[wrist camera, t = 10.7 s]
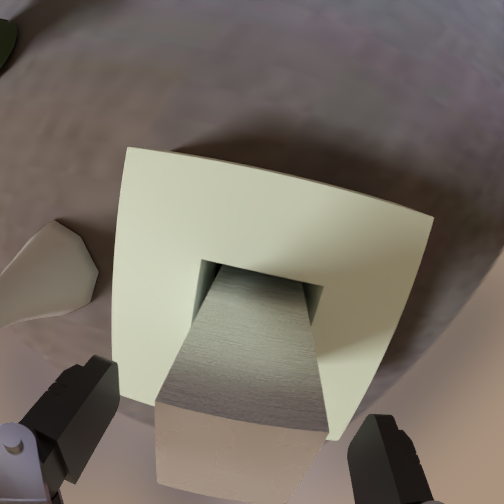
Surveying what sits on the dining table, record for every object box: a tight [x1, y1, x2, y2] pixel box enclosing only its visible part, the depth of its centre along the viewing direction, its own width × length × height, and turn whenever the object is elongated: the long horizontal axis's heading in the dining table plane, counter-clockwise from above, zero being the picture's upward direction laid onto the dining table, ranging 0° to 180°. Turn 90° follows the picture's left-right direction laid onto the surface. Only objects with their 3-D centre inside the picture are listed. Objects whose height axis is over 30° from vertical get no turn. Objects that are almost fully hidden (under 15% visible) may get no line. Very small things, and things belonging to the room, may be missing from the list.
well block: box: [112, 147, 434, 440], centre depth 17 cm, size 14×14×6 cm
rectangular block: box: [155, 264, 329, 504], centre depth 13 cm, size 4×4×14 cm
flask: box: [0, 220, 99, 329], centre depth 16 cm, size 7×7×10 cm
